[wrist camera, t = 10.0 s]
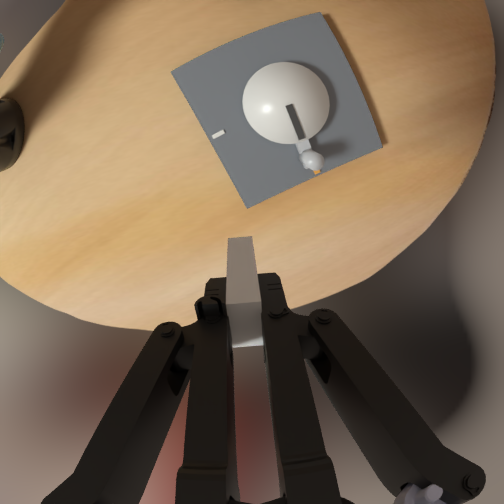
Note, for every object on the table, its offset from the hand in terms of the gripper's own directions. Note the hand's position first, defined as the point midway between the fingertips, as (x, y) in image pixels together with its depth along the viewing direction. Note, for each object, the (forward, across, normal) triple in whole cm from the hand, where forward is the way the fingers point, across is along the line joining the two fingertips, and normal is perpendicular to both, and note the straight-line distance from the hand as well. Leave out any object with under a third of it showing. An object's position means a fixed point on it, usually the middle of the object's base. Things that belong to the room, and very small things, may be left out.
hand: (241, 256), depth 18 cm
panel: (+26, +7, +11) cm, 29 cm away
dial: (+24, +8, +9) cm, 27 cm away
